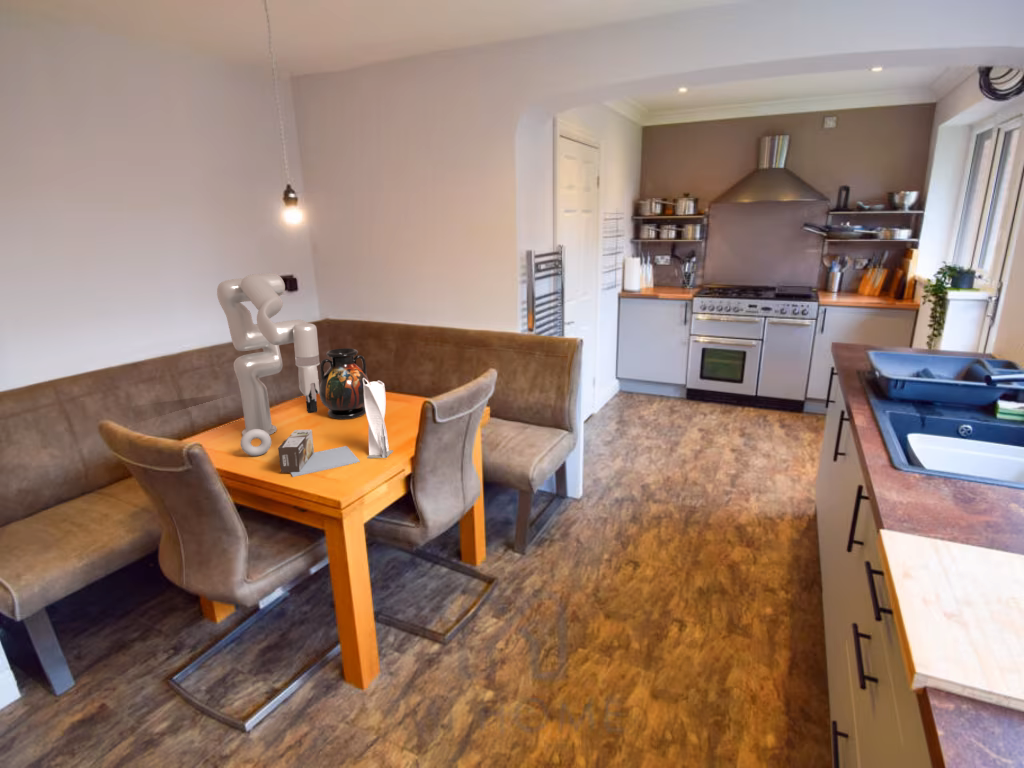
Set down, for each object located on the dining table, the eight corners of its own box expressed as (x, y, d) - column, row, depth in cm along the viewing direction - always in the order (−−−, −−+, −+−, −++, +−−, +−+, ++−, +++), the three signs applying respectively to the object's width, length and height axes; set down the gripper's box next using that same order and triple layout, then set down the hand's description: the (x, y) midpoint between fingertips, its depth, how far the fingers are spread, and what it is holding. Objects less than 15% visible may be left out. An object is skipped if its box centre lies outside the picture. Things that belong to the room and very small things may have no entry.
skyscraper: (363, 458, 195) (356, 381, 188) (372, 449, 203) (365, 374, 195) (386, 459, 194) (380, 381, 186) (394, 450, 202) (389, 375, 194)
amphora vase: (328, 425, 228) (321, 359, 220) (316, 411, 246) (310, 349, 238) (379, 416, 238) (374, 352, 231) (365, 403, 256) (360, 344, 249)
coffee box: (293, 429, 195) (277, 446, 180) (312, 429, 196) (297, 446, 180) (296, 454, 198) (280, 472, 182) (314, 453, 198) (300, 472, 183)
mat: (283, 460, 194) (283, 458, 194) (346, 447, 205) (346, 445, 204) (292, 477, 180) (292, 475, 180) (359, 462, 191) (359, 460, 191)
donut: (242, 459, 194) (238, 433, 192) (242, 456, 198) (238, 429, 195) (273, 454, 198) (269, 428, 196) (272, 451, 202) (269, 425, 199)
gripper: (291, 356, 191) (296, 407, 196) (300, 366, 179) (305, 420, 184) (313, 354, 195) (318, 404, 200) (324, 364, 183) (328, 416, 188)
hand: (312, 411), depth 192 cm, fingers closed
